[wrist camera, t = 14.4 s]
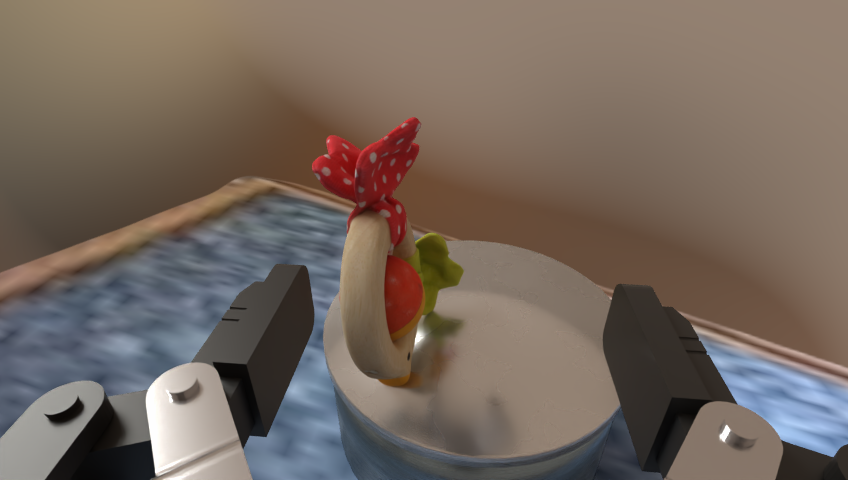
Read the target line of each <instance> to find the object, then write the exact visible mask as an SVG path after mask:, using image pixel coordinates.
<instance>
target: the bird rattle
mask: <svg viewBox="0 0 848 480" xmlns="http://www.w3.org/2000/svg"><path fill="white" fill-rule="evenodd" d="M420 127H421V123H420V122H419V120H418V119H417V118H415V117H412V118H410V119H408V120H406V121H405V122H404V123H402V124H401V125H400V126H398V127H397V128H395V129H394V130H393V131H391V132H390V133H389V134H387V135H386V136H385V137H383V138H382V139H381V140H380V141H378V142H376V143H372V144H371V145H369V146H367V147H366V148H365V149H364V150H363V151H361V150H359V149H358V148H357V147H355V146H354V145H353V144H351V143H349V142H348V141H346V140H344V139H342V138H340V137H338V136H334V135H332V136H329V137H328V138H327V141H326V142H327V148H328V152H329V154H328V155H323V156H320V157H318V158H317V159H316V160H315V161H314V162H313V164H312V169H313V172H314V173H315V175H316V176H317V178H318V179H319V181H320V182H321V184H322V185H323V186H324V187H325V188H326V189H327V190H329V191H330V192H332V193H334V194H336V195H338V196H339V197H342V198H345V199H349V200H352V201H353V202H355V203H356V204H357V206H356V207H355V209H354V210H353V211H352V213H351V214H350V216H349V218H348V221H347V234H348V235H347V238H346V242H345V246H344V251H343V258H342V266H341V278H340V296H339V299H340V310H341V319H342V327H343V333H344V338H345V342H346V345H347V349H348V351H349V354H350V356H351V358H352V360H353V362H354V364H355V365H356V367H357V368H358V369H359V370H360V371H361V372H362V373H363V374H365V375H366V376H368V377H370V378H373V379H378V380H379V381H380V382H381V383H382V384H384V385H387V386H401V385H404V384H405V383H406V382H408V380H409V377H410V372H411V359H412V354H413V350H414V345H415V340H416V335H417V327H418V322H419V320H420V319H421V316H422V315H427V314H429V313H430V312H432V311H433V310H434V308H435V305H436V300H437V296H438V292H439V290H441V289H444V288H448V287H454V286H457V285H458V284H459V282H460V280H461V277H462V275H463V273H464V270H463V268H462V267H461V266H460V265H459V264H458V263H456V262H454V261H453V260H451V259H450V258H449V257H448V255H449V251H448V248H447V244H446V242H445V240H444V239H443V238H442V237H441V236H440V235H438V234H435V233H428V234H426V235H425V236H424V237H422V238H420V239H419V240H417V241H416V242H415V240H414V236H413V232H412V229H411V226H410V223H409V221H408V219H407V216H406V212H405V209H404V207H403V205H402V204H401V203H400V202H399V201H397V200H396V199H394V198H393V197H392V194H393V192H394V191H395V189H396V188H397V186H398V185H399V184H400V183H401V181H402V179H403V178H404V176H405V174H406V173H407V171H408V170H409V169H410V167H411V166H412V164H413V162H414V161H415V159H416V157H417V155H418V152H419V145H417V144H415V143H412V142H413V140H414V139H415V138H416V134H417V132H418V131H419V129H420Z"/></svg>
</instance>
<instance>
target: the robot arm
mask: <svg viewBox="0 0 848 480" xmlns="http://www.w3.org/2000/svg"><path fill="white" fill-rule="evenodd" d="M313 325H314V306H313V300H312V293H311V287H310V280H309V274H308V270H307V267H306V266H304V265H287V264H276V265H275V266H274V267H273V269H272V270H271V272H270V273H269V275H268V277H267V278H266V280H265V281H264V282H256V281H255V282H254V283H253V284H251V285H250V286H249V287H247V288H246V289H244V290H243V291H242V292H240V293H239V295H238V296H237V297H236V299H235V300H234V302H233V303H232V305H231V306H230V310H227V312H226V313H225V315H224V316H223V317H222V321H220V322H219V323H218V325H217V326H216V327H215V329H214V330H213V332H212V333H211V335H210V336H209V337H208V339H207V340H206V342H205V343H204V345H203V346H202V347H201V349H200V350H199V352H198V353H197V355H196V356H195V358H194V359H193V360H192V362H191V363H188V364H184V365H180V366H177V367H175V368H173V369H171V370H169V371H167V372H166V373H164V374H163V375H161V376H160V377H159V378H158V379H156V380H155V382H154V383H153V384H152V385H151V387H150V388H149V389H148V390H144V391H138V392H133V393H127V394H122V395H116V396H111V397H107V395H106V393H105V391H104V389H103V387H102V386H101V385H100V384H98V383H96V382H92V381H78V382H72V383H69V384H65V385H63V386H60V387H58V388H56V389H53V390H52V391H50V392H48V393H46V394H45V395H43V396H42V397H40V398H39V399H38V400H36V401H35V402H34V403H33V404H32V405H31V406H30V407H29V408H28V409H27V410H26V411H25V412H24V413H23V415H22V416H21V417H20V418H19V419H18V420H17V421H16V422H15V423H14V424H13V426H12V427H11V428H10V429H9V430H8V431H7V432H6V433H5V434H4V435H3V436H2V438H1V439H0V480H253V479H252V476H251V473H250V470H249V467H248V464H247V461H246V457H245V454H244V451H243V448H244V446H245V444H246V442H247V440H248V438H249V436H261V437H267V434H268V432H269V430H270V428H271V425H272V423H273V421H274V418H275V416H276V414H277V411H278V409H279V407H280V404H281V402H282V400H283V398H284V395H285V393H286V391H287V388H288V386H289V384H290V381H291V379H292V377H293V375H294V372H295V370H296V368H297V365H298V363H299V361H300V358H301V356H302V354H303V352H304V349H305V347H306V345H307V342H308V340H309V338H310V335H311V333H312V330H313ZM603 351H604V355H605V358H606V361H607V364H608V368H609V371H610V374H611V377H612V380H613V383H614V386H615V389H616V392H617V395H618V399H619V402H620V405H621V408H622V411H623V414H624V417H625V420H626V423H627V427H628V430H629V433H630V436H631V439H632V442H633V445H634V448H635V451H636V454H637V458H638V461H639V464H640V467H641V470H642V471H647V472H658V473H661V475H662V477H663V480H848V444H847V445H844V446H843V447H841V448H840V449H839V450H838V452H837V453H836V454H835V456H834V457H830V456H827V455H824V454H821V453H818V452H815V451H812V450H809V449H805V448H802V447H799V446H796V445H793V444H790V443H787V442H785V441H782V440H781V439H780V437H779V435H778V434H777V432H776V431H775V430H774V428H773V427H772V426H771V425H770V424H769V423H768V422H767V421H765V420H764V419H763V418H762V417H760V416H759V415H757V414H756V413H754V412H753V411H751V410H749V409H747V408H745V407H742V406H740V405H738V404H737V403H736V401H735V399H734V398H733V396H732V394H731V392H730V391H729V389H728V387H727V385H726V384H725V382H724V380H723V379H722V377H721V375H720V373H719V372H718V370H717V368H716V367H715V365H714V363H713V361H712V360H711V358H710V356H709V355H707V353H706V352H707V351H706V349H705V348H704V346H703V344H702V343H701V341H699V337H698V336H697V334H696V332H695V331H694V329H693V327H692V325H691V324H690V322H689V321H688V320H687V319H686V318H684V317H683V316H682V315H681V314H680V313H679V312H677V311H676V310H675V309H674V308H673V307H662V305H661V303H660V301H659V299H658V298H657V296H656V294H655V292H654V290H653V288H652V287H651V286H647V285H628V284H618V285H617V286H616V287H615V290H614V293H613V297H612V300H611V304H610V308H609V312H608V315H607V319H606V323H605V327H604V331H603Z"/></svg>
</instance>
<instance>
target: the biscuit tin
mask: <svg viewBox="0 0 848 480" xmlns="http://www.w3.org/2000/svg"><path fill="white" fill-rule="evenodd" d="M445 242H446V244H447V248H448V251H449V255H448V257H449V258H450V259H451V260H453V261H454V262H456V263H458V264H459V265H460V266H461V267H462V268H463V270H464V273H463V275H462V277H461V280H460V282H459V284H458V285H457V286H454V287H448V288H444V289H441V290H439V292H438V296H437V300H436V305H435V308H434V310H433V311H432V312H430V313H429V314H427V315H422V316H421V319H420V320H419V322H418V327H417V335H416V340H415V345H414V350H413V354H412V359H411V372H410V377H409V380H408V382H406V383H405V384H404V385H401V386H387V385H384V384H382V383H381V382H380V381H379V380H378V379H373V378H370V377H368V376H366V375H365V374H363V373H362V372H361V371H360V370H359V369H358V368H357V367H356V365H355V364H354V362H353V360H352V358H351V356H350V354H349V351H348V349H347V345H346V342H345V338H344V333H343V327H342V319H341V310H340V299H339V296H340V291H339V293H338V294H337V295H336V297H335V298H334V300H333V302H332V304H331V306H330V308H329V310H328V313H327V317H326V320H325V323H324V334H323V341H324V351H325V358H326V364H327V368H328V371H329V375H330V378H331V380H332V382H333V384H334V391H335V397H336V404H337V411H338V418H339V425H340V432H341V439H342V444H343V447H344V451H345V455H346V457H347V460H348V462H349V464H350V466H351V469H352V471H353V473H354V474H355V476H356V477H357V479H358V480H593V478H594V476H595V474H596V471H597V468H598V465H599V462H600V459H601V456H602V453H603V450H604V447H605V444H606V440H607V437H608V434H609V431H610V428H611V425H612V422H613V419H614V417H615V416H616V415H617V413H618V412H619V410H620V408H621V405H620V402H619V399H618V395H617V392H616V389H615V386H614V383H613V380H612V377H611V374H610V371H609V368H608V364H607V361H606V358H605V355H604V351H603V331H604V327H605V323H606V319H607V315H608V312H609V308H610V304H611V299H610V298H609V297H608V296H607V295H606V294H605V293H604V292H603V291H602V290H601V289H600V288H599V287H597V286H596V285H595V284H594V283H593V282H591V281H590V280H589V279H587V278H586V277H584V276H583V275H581V274H580V273H579V272H577V271H575V270H574V269H572V268H570V267H568V266H567V265H565V264H563V263H561V262H558V261H556V260H554V259H552V258H550V257H547V256H545V255H542V254H539V253H536V252H533V251H530V250H527V249H523V248H520V247H515V246H510V245H506V244H499V243H493V242H483V241H445Z"/></svg>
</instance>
